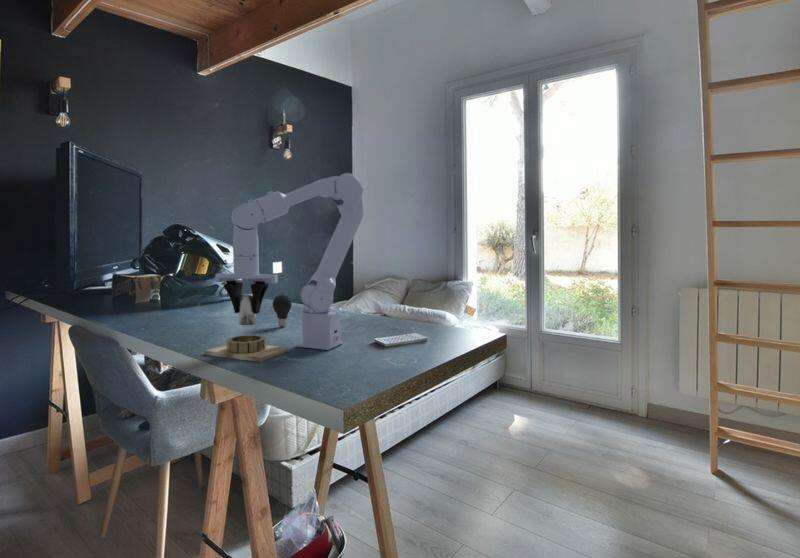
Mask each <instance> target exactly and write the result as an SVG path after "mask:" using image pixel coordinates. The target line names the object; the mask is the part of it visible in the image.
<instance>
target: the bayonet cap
mask: <svg viewBox="0 0 800 558" xmlns="http://www.w3.org/2000/svg"><path fill="white" fill-rule="evenodd" d="M257 314H258V313H257ZM257 314H254V313H253V295H252V293H241V294H240V295H239V313H238V324H239V326H253V325H257V321H258V320H257V317H258V315H257Z"/></svg>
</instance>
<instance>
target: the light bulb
mask: <svg viewBox="0 0 800 558" xmlns="http://www.w3.org/2000/svg"><path fill="white" fill-rule="evenodd" d="M272 308H273V310H274V312H275V313H276V318H277V321H278V326H280V328H285V327H286V326H287V323H288V322H287V320H288V319H287V318H288V316H289V315H288V314H289V313H290V311H291V309H292V300H291V298H290V296H287V295H286V294H279V295H277V296H275V297H274V299H273V300H272Z"/></svg>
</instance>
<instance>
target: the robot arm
mask: <svg viewBox="0 0 800 558" xmlns="http://www.w3.org/2000/svg"><path fill="white" fill-rule="evenodd" d="M363 192H364V187H363V186H362V183H361V182H360V180H359V178H358V177H357V176H356V175H355V174H354V173H351V172H345V173H343V174H340V175H339V176H338V175H334V176H329V177H325V178H322V179H318V180H316V181H313V182H311V183H308V184H307V185H303V186H301V187H299V188H297V189H295V190H292V191H290V192H288V193H282V192H281V191H278V190H277V191H273V190H269V191H267V192H266V195H263V196H261V197H259V198H256V199H253V198H249V199H248V200H247V202H244V203H242V204H240V205H238V206H236V207H235V208H234V209H233V210H232V212H231V216H230V220H231V223H232V225H233V227H232V228H233V229H232V233H233V236H232V254H233V255H232V256H233V257H232V258H233V273H215V275H214V278H215V283H225V284H223V288H224V289H225V291H226V293H227V294H228V297H229V299H230V302H231V304H232V307H233V310H234V311H233V312H234V314H239V295H240V294H243V293H242V291H243V285H244V283H249V284H250V288H251V294H252V295H253V313H254V314H260V313H261V307H262V303H263V298H264V297H265V294H266V292H267V289H268V288H269V286H270V285H269V284H278V283H279V282H278V281H279V280H278V279H279V276H278V274H267V273H260V256H259V254H260V253H259V250H260V247H259V246H260V245H259V235H258V225H260V223H262V224H264V223H268V222H270V221H272V220H275V219H277V218H279V217H282V216H284V215H287V214H288V213H289V210H290V208H291V206H294V205H297V204H299V203H301V202H305V201H307V200H310V199H313V198H316V197H323V198H329V199H330V200H332V202H333V203H334V204H335V205H336V207H337V209H338V211H339V214H340V218H339V221H338V223H337V225H336V227H335V230H334V232H333V234H332V236H331V237H330V238H331V239H330V241H329V243H328V245H327V247H326V249H325V252H324V253H323V257H322V258H321V261H320V263H319V265H318V267H317V270H316V271H315V272H314V273H313V274H312V276H311V277H310V279H309V280H308V282H307V284H304V286H302V288H301V290H300V293H299V294H300V296H299V297H300V300H301V301H302V303H303V304H304V305H303V308H302V310H301V313H302V315H301V318H302V320H301V321H302V322H301V323H302V325H301V326H302V328H301V329H302V331H301V332H302V342H299V343H296V344H295V347H297V348H307V349H308V348H309V349H313V350H314V349H315V350H324V351H328V350H331V349H333V348H336V347H338V346H339V345H342V344H343V343H344V342H343V341H342V319H341V318H342V317H341V315H340V314H339V312H334V311H332V305H333V303H334V291H335V289H336V285H337V283H336V282H337V281H336V278H337V276H338V274H339V272H340V269H341V267H342V265H343V263H344V260H345V258H346V256H347V253H348V251H349V249H350V247H351V245H352V242H353V240H354V237H355V235H356V233H357V231H358V228H359V227H360V224H361V222H362V220H363V217H364V206H363V205H364V204H363Z"/></svg>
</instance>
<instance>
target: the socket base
mask: <svg viewBox="0 0 800 558" xmlns="http://www.w3.org/2000/svg"><path fill="white" fill-rule="evenodd" d="M266 340H267V339H266V336H264V335H260V334H242V335H241V334H240V335H236V336H230V337H228V338H227V339H226V343H225V344H221V345H218V346H215V347H211V348H208V349H204V350H203V351H204V355H205V356H211V357H219V358H220V357H221V358H229V359H235V360H241V361H249V362H257V363H258V362H259V363H262V362H265V361H267V360H270V359H271V358H275V357H277V356H280V355H282V354H285V353H288V347H286V346H285V347H284V346H278V345H276V346H275V345H268V344H267V343H266V342H267V341H266Z"/></svg>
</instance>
